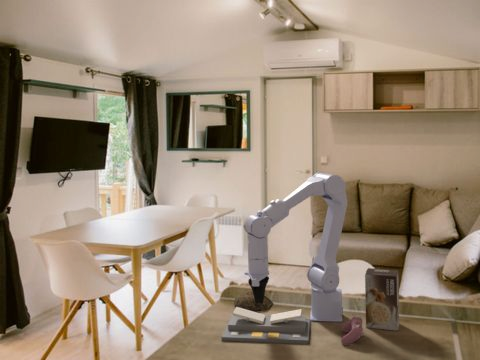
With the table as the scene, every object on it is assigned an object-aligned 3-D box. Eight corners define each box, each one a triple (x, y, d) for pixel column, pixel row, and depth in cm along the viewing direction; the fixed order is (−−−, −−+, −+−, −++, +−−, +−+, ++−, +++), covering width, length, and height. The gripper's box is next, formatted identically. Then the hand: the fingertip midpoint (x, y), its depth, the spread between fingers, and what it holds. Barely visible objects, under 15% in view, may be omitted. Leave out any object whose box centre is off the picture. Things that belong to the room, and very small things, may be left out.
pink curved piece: (355, 352, 139) (367, 330, 138) (339, 344, 140) (351, 322, 138) (354, 336, 149) (365, 316, 147) (339, 329, 149) (351, 308, 148)
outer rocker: (264, 318, 154) (265, 314, 154) (262, 325, 150) (263, 321, 149) (235, 310, 156) (236, 306, 155) (232, 317, 151) (233, 312, 151)
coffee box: (399, 323, 153) (400, 270, 151) (397, 331, 147) (398, 276, 145) (368, 319, 157) (367, 267, 155) (364, 327, 151) (364, 273, 149)
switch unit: (309, 322, 156) (309, 314, 156) (308, 343, 141) (308, 335, 141) (231, 319, 160) (230, 311, 160) (221, 340, 145) (221, 331, 145)
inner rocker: (302, 313, 152) (301, 309, 152) (301, 319, 147) (300, 315, 147) (272, 318, 154) (271, 314, 154) (270, 325, 149) (269, 321, 149)
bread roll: (230, 312, 167) (230, 297, 166) (237, 298, 179) (236, 284, 178) (270, 313, 165) (270, 298, 164) (274, 299, 177) (274, 285, 176)
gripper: (247, 250, 158) (249, 293, 159) (240, 264, 143) (242, 311, 145) (271, 250, 156) (272, 294, 158) (265, 264, 142) (267, 312, 144)
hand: (259, 302), depth 152 cm, fingers closed
